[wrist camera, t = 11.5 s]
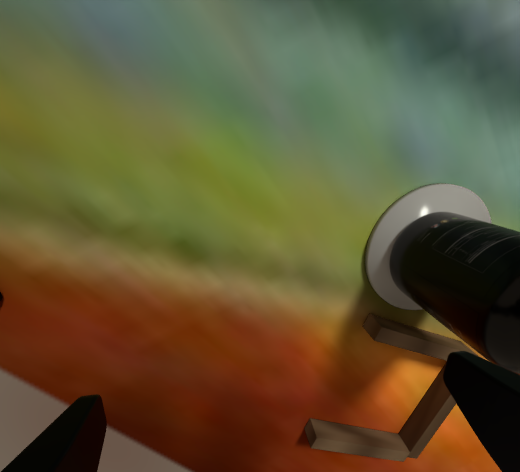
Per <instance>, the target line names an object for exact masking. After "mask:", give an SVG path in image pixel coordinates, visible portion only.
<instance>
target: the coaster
mask: <svg viewBox="0 0 520 472" xmlns="http://www.w3.org/2000/svg"><path fill="white" fill-rule="evenodd" d="M434 212H451V213H456V214H459V215H463V216H467V217H470V218H474V219H477V220H481V221H484V222H487V223H491V218H490V214H489V212H488V209H487V207H486V205H485V204H484V202H483V201H482V200H481V199H480V197H479V196H477V195H476V194H475V193H474V192H472V191H470V190H469V189H467V188H464V187H461V186H458V185H453V184H446V183H436V184H429V185H425V186H422V187H419V188H417V189H414V190H412V191H410V192H408V193H407V194H405V195H403V196H402V197H400V198H399V199H398V200H396V201H395V202H394V203H393V204H392V205H391V206H390V207H389V208H388V209H387V210H386V211H385V212H384V213H383V214H382V216H381V217H380V219H379V220H378V221H377V223H376V225H375V227H374V228H373V230H372V232H371V235H370V237H369V240H368V244H367V247H366V254H365V268H366V273H367V277H368V280H369V282H370V284H371V286H372V287H373V289H374V291H375V292H376V293H377V294H378V295H379V296H380V297H381V298H382V299H384V300H385V301H386V302H387V303H389V304H391V305H393V306H395V307H398V308H401V309H406V310H422V308H421V307H420V306H419V305H417V304H416V303H415V302H414V301H412V300H411V299H410V298H409V297H407V296H406V295H405V294H404V293H403V292H401V291H400V290H399V289H398V287H397V286H396V285H395V283H394V281H393V279H392V277H391V273H390V267H389V261H390V254H391V251H392V248H393V245H394V243H395V241H396V239H397V238H398V236H399V235H400V234H401V232H402V231H403V230H404V229H405V228H406V227H407V226H408V225H409V224H411V223H412V222H413V221H415V220H416V219H418V218H420V217H422V216H424V215H427V214H430V213H434Z"/></svg>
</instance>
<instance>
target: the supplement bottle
mask: <svg viewBox="0 0 520 472" xmlns="http://www.w3.org/2000/svg"><path fill="white" fill-rule="evenodd" d="M389 267H390V273H391V277H392V279H393V281H394V283H395V285H396V286H397V287H398V289H399V290H400V291H401V292H403V293H404V294H405V295H406V296H407V297H409V298H410V299H411V300H412V301H414V302H415V303H416V304H417V305H419V306H420V307H421V308H422V309H424V310H425V311H426V312H428V313H429V314H430V315H431V316H433V317H434V318H435V319H436V320H438V321H439V322H440V323H442V324H443V325H444V326H445V327H447V328H448V329H449V330H450V331H452V332H453V333H454V334H456V335H457V336H458V337H459V338H461V339H462V340H463V341H464V342H466V343H467V344H468V345H470V346H471V347H472V348H473V349H475V350H476V351H477V352H478V353H480V354H481V355H482V356H484V357H485V358H486V359H487V360H489V361H490V362H492V363H494V364H496V365H498V366H501V367H503V368H505V369H507V370H509V371H512V372H514V373H516V374H518V375H520V232H518V231H515V230H511V229H508V228H504V227H501V226H498V225H494V224H491V223H487V222H484V221H481V220H477V219H474V218H470V217H467V216H463V215H459V214H456V213H451V212H434V213H430V214H427V215H424V216H422V217H420V218H418V219H416V220H415V221H413V222H412V223H411V224H409V225H408V226H407V227H406V228H405V229H404V230H403V231H402V232H401V234H400V235H399V236H398V238H397V239H396V241H395V243H394V245H393V248H392V251H391V254H390V261H389Z"/></svg>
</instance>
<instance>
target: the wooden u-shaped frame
mask: <svg viewBox="0 0 520 472" xmlns="http://www.w3.org/2000/svg"><path fill="white" fill-rule="evenodd" d="M363 327H364V328H365V330H366V331H367V332H368V333H369V335H370V336H371V337H372V338H373V340H374V341H378V342H381V343H385V344H389V345H392V346H396V347H399V348H403V349H407V350H410V351H414V352H417V353H421V354H425V355H428V356H432V357H435V358H439V359H443V360H446V361H447V358H448V355H449V354H450V353H451V352H457V351H467V352H469V353H472V354H474V355H476V356H478V355H477V354H475V353H474V352H473V351H472V350H470V349H469V348H468V347H467V346H466V345H464V344H463V343H462V342H461V341H457V340H454V339H451V338H447V337H444V336H441V335H438V334H434V333H431V332H428V331H425V330H421V329H418V328H415V327H411V326H408V325H405V324H402V323H398V322H395V321H392V320H389V319H385V318H382V317H379V316H375V315H372V314H369V316H368V317H367V319H366V321H365V323H364V324H363ZM445 365H446V364H445ZM444 369H445V366H444V367H443V369H442V370H441V372H440V373H439V375H438V376H437V378H436V379H435V381H434V382H433V384H432V385H431V387H430V388H429V390H428V391H427V392H426V394H425V395H424V397H423V398H422V400H421V401H420V403H419V404H418V406H417V407H416V409H415V410H414V412H413V413H412V415H411V416H410V418H409V419H408V421H407V422H406V424H405V425H404V427H403V428H402V429H401V431H400V432H399V434H395V433H390V432H384V431H379V430H373V429H367V428H362V427H356V426H350V425H345V424H339V423H333V422H328V421H322V420H317V419H311V418H310V419H309V421H308V423H307V425H306V426H305V428H304V429H305V432H306V435H307V438H308V441H309V444H310V447H311V448H314V449H320V450H327V451H334V452H341V453H348V454H355V455H361V456H368V457H375V458H382V459H389V460H396V461H402V462H404V460H405V459H406V458H407V457H410V458H416V459H417V458H418V456H419V455H420V453H421V452H422V451H423V449H424V448H425V446H426V445H427V444H428V442H429V441H430V439H431V438H432V437H433V435H434V434H435V432H436V431H437V430H438V428H439V427H440V425H441V424H442V423H443V421H444V420H445V418H446V417H447V416H448V414H449V413H450V411H451V410H452V409H453V407H454V406H455V404H456V402H455V400H454V398H453V397H452V395H451V394H450V392H449V390H448V389H447V387H446V385H445V383H444V380H443V373H444Z"/></svg>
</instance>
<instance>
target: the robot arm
mask: <svg viewBox="0 0 520 472" xmlns="http://www.w3.org/2000/svg"><path fill="white" fill-rule="evenodd" d="M1 300H2V294H1V292H0V301H1ZM443 380H444V383H445V385H446V387H447V389H448V390H449V392H450V394H451V395H452V397H453V398H454V400H455V402H456V403H457V405H458V406H459V408H460V410H461V411H462V413H463V415H464V416H465V418H466V419H467V421H468V423H469V424H470V426H471V427H472V429H473V431H474V432H475V434H476V435H477V437H478V439H479V440H480V442H481V443H482V445H483V446H484V447H485V449H486V450H487V452H488V453H489V454H490V456H491V457H492V459H493V460H494V461H495V463H496V464H497V465H498V467H499V468H500V470H501V471H502V472H520V375H518V374H516V373H514V372H512V371H509V370H507V369H505V368H503V367H501V366H498V365H496V364H494V363H492V362H489V361H487V360H485V359H483V358H481V357H478V356H476V355H474V354H472V353H469V352H467V351H457V352H451V353H450V354H449V355H448V358H447V361H446V365H445V369H444V373H443ZM106 425H107V423H106V416H105V412H104V407H103V402H102V398H101V396H100V395H97V394H96V395H87V396H82V397H79V398H78V399H77V400H76V401H75V402H74V403H72V404H71V405H70V406H69V407H68V408H67V409H66V410H65V411H64V412H63V413H62V414H61V415H60V416H59V417H58V418H57V419H56V420H55V421H54V422H53V423H51V424H50V425H49V426H48V427H47V428H46V429H45V430H44V431H43V432H42V433H41V434H40V435H39V436H38V437H37V438H36V439H35V440H34V441H33V442H32V443H30V444H29V446H27V447H26V448H25V449H24V450H23V451H22V452H21V453H20V454H19V455H18V456H17V457H16V458H15V459H14V460H13V461H12V462H11V463H10V464H8V465H7V466H6V467H5V468H4V469H3V470H2V471H1V472H97V470H98V465H99V460H100V456H101V451H102V446H103V442H104V438H105V433H106Z"/></svg>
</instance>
